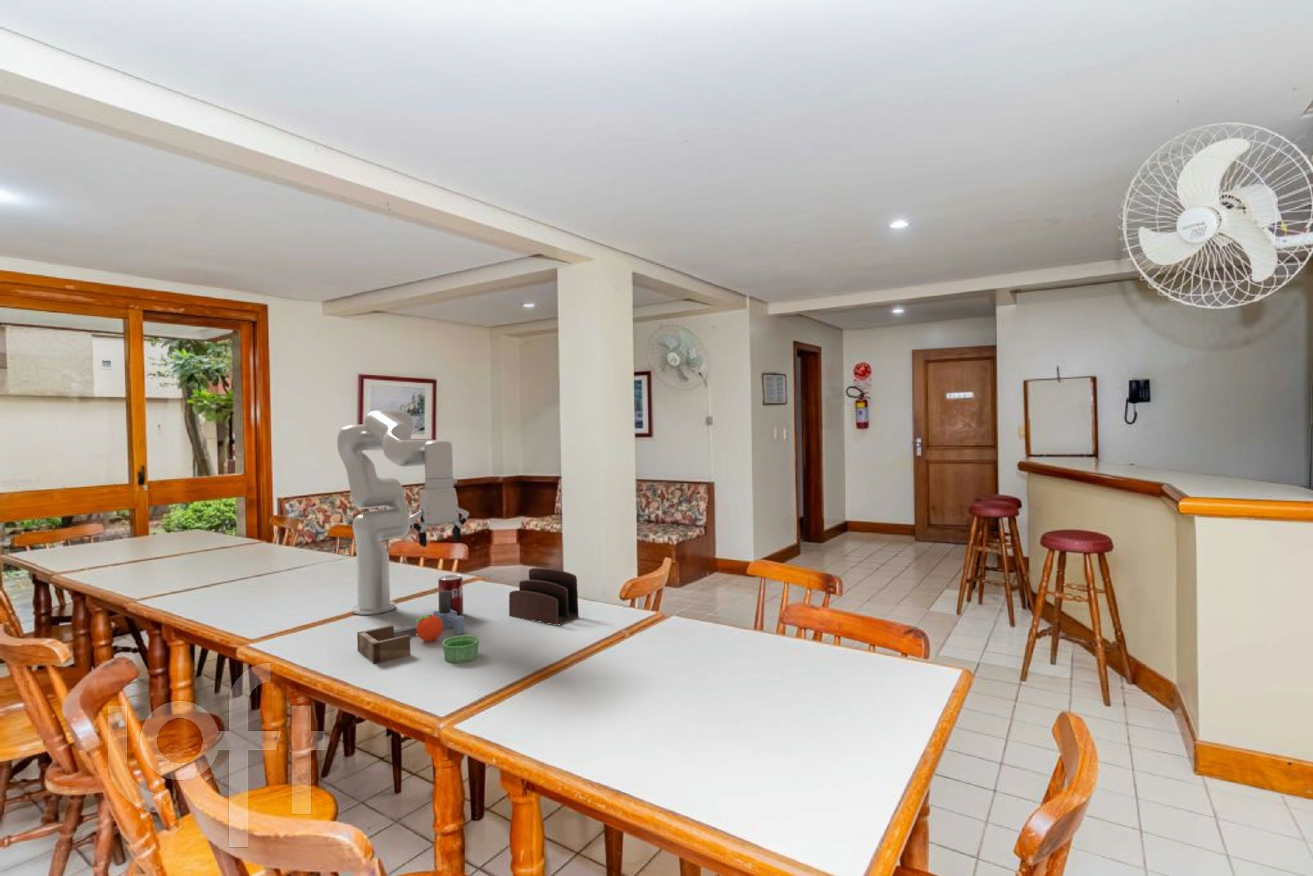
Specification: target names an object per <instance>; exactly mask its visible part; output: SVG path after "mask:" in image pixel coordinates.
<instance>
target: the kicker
mask: <svg viewBox="0 0 1313 876" xmlns="http://www.w3.org/2000/svg"><path fill="white" fill-rule="evenodd" d="M439 603H440V611H439V610H436V611H432V612H433V613H432V615H434V616H436V617H438V618H439V619H440V620H441V621H442V623H443V628H444V629H448V628H451V627H453V633H454V634H456V635H462V634H464V633H465V617H464V616H462V615H461V616H457V612H456V611H454V610H452V609H450V591H449V590H444V591H440V592H439V595H438V604H439ZM447 627H448V628H447Z"/></svg>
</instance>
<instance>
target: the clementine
mask: <svg viewBox="0 0 1313 876" xmlns="http://www.w3.org/2000/svg"><path fill="white" fill-rule="evenodd" d="M417 622H418V623H417ZM416 623H417V624H418V625H417V634H418V635H417V636H418V638H419V639H420V640H422V641H424V642H434V641H436V640H437V639H439V638H440V637H441V635H442V633H443V632H444V629H443V623H442V621H441V620H440V619H439V618H438V617H436V616H434V615H433V614H429V615H426V616H421V617H419V618H417V620H415V621H414V623H413V625H416Z"/></svg>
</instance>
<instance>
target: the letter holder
mask: <svg viewBox="0 0 1313 876" xmlns="http://www.w3.org/2000/svg"><path fill="white" fill-rule="evenodd" d="M518 585H519V587H518V588H519V589H518V590H511V591H510V592H509V594H508V599H509V600H508V602H509V603H508V613H509V614H508V615H510V616H509V617H513V618H517V617H519V619H522V618H524V619H523V620H527V619H528V620H527V621H532V620H535V621H534V622H537V621H541V622H540V623H542V622H544V623H543V624H546V623H551V624H556V625H558V624H561V623H563V624H565V623H564V622H566V621H568V622H570V621H569V620H571V621H573V620H575V619H574V618H576V619H578V618H579V616H580V615H579V599H578V597H579V595H578V578H577V575H576V574H574V573H570V572H567V571H564V570H559V569H554V568H545V567H543V568H542V567H533V568H529V569H528V579H522V580H520V581H519V584H518ZM577 617H578V618H577ZM572 619H573V620H572ZM566 623H567V622H566ZM551 624H550V625H551ZM556 625H555V626H556ZM561 625H562V624H561ZM558 626H559V625H558Z"/></svg>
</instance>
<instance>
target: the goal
mask: <svg viewBox="0 0 1313 876" xmlns="http://www.w3.org/2000/svg"><path fill="white" fill-rule="evenodd" d="M394 629H395V627H394V625H393V624H390V625H386V626H380V627H377V628H376V627H375V628H373V629H372V628H371V629H367V630H363V631H358V632H356V633H357V634H356V635H357V636H356V637H357V639H356V640H357V652H358V653H359V652H360V653H359V654H360V655H362V656H363V655H364V656H363V657H364V658H366V659H367V660H368V661H370V662H371V663H372V662H373V664H374V665H376V664H380V663H384V662H388V661H392V660H396V659H400V658H403V657H407V655H408V656H411V636H410V635H404V636H400V637H395V638H394ZM387 660H388V661H387ZM379 662H380V663H379ZM375 663H376V664H375Z"/></svg>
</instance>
